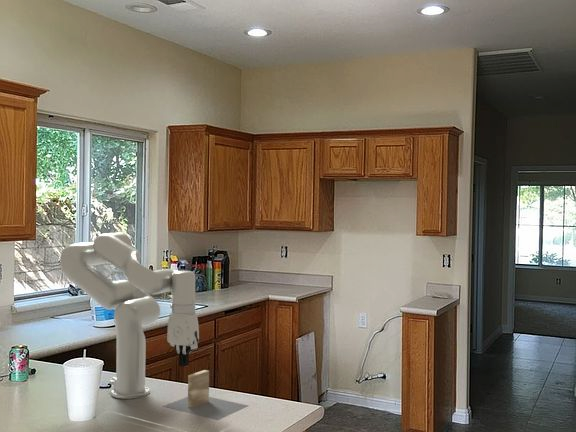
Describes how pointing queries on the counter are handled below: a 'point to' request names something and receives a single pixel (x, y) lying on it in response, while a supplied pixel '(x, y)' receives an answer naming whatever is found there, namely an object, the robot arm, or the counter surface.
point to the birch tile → (198, 388)
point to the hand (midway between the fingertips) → (183, 365)
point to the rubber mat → (208, 407)
